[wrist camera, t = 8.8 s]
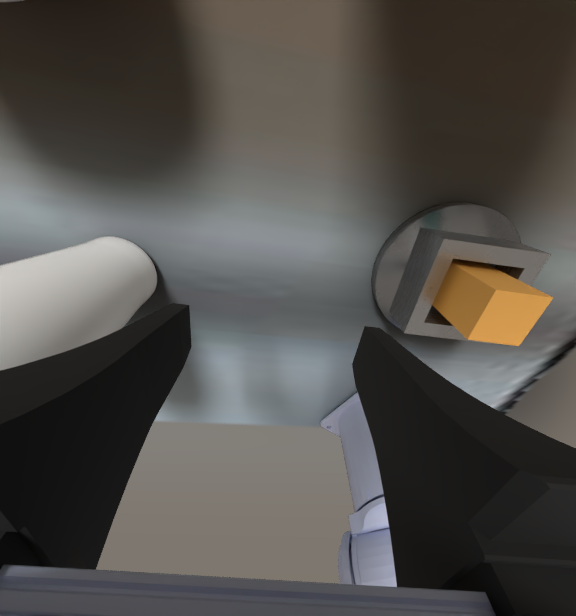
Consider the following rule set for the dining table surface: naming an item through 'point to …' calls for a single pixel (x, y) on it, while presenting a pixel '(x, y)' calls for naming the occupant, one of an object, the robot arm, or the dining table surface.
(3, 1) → the lidded bowl
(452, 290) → the orange block
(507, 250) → the grey square frame
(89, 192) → the dining table surface
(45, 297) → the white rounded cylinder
